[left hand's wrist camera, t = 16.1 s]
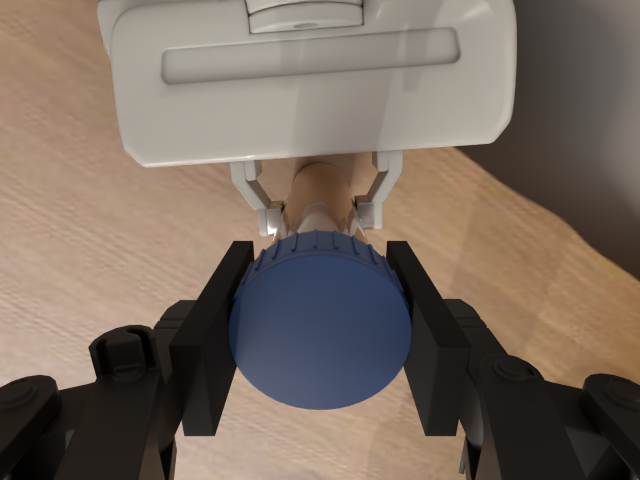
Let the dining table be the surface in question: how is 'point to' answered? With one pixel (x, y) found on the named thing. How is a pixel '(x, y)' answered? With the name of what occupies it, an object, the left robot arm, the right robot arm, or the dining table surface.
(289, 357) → the lid
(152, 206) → the dining table surface
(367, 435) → the dining table surface
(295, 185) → the bottle
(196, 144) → the right robot arm
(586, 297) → the dining table surface
